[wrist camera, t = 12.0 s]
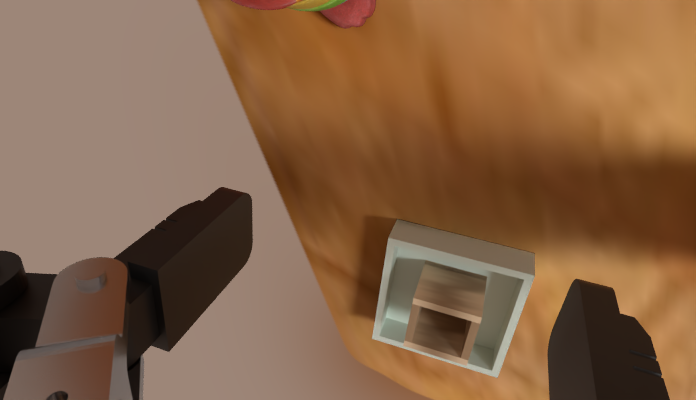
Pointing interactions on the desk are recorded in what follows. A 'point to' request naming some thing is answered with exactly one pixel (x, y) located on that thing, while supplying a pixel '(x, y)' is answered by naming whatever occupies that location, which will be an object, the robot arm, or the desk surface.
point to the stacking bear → (322, 9)
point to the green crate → (462, 253)
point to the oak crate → (446, 312)
